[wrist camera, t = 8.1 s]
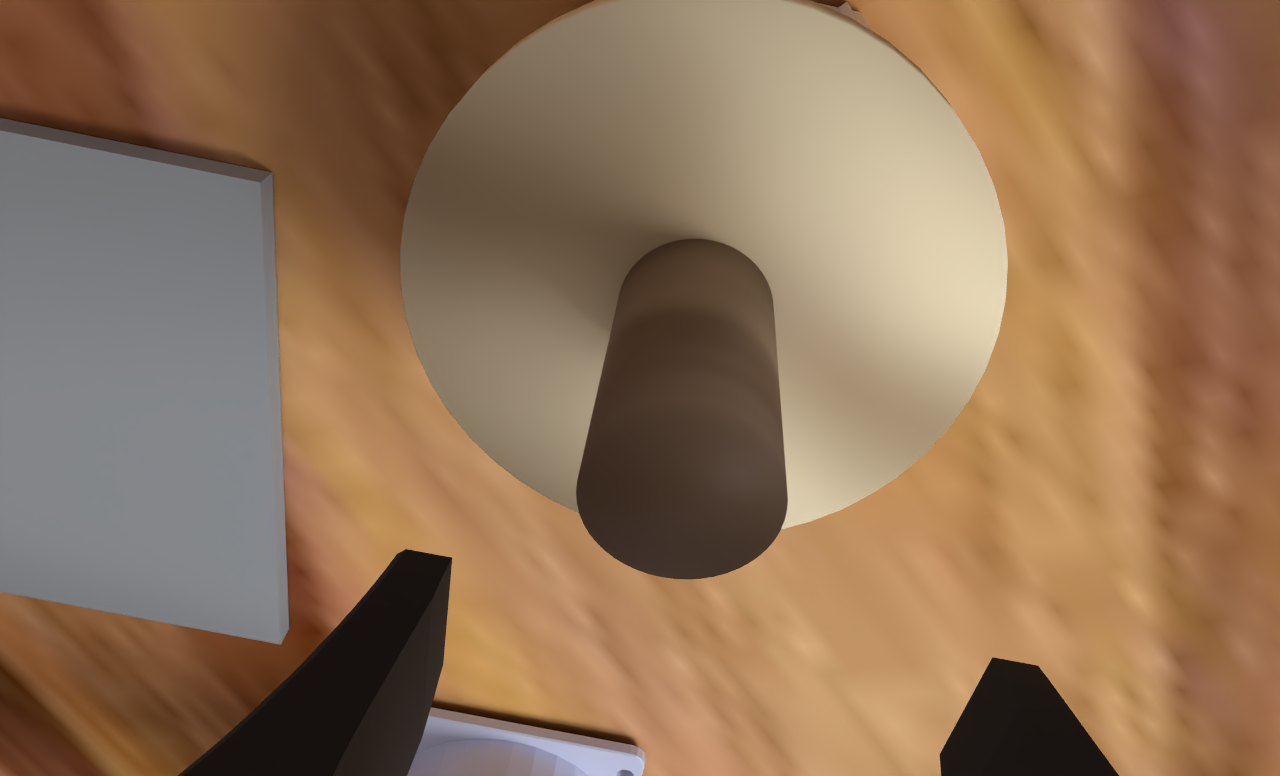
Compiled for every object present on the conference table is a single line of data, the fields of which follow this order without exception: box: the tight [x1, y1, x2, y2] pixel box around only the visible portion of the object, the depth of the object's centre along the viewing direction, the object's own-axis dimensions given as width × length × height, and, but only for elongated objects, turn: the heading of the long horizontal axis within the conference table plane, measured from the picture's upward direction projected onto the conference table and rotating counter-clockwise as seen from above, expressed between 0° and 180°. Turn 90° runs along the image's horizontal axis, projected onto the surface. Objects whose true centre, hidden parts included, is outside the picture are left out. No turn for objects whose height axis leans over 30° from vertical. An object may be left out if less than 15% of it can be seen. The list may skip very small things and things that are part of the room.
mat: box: [0, 118, 289, 644], centre depth 23 cm, size 14×12×1 cm
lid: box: [400, 0, 1008, 579], centre depth 14 cm, size 10×10×6 cm
